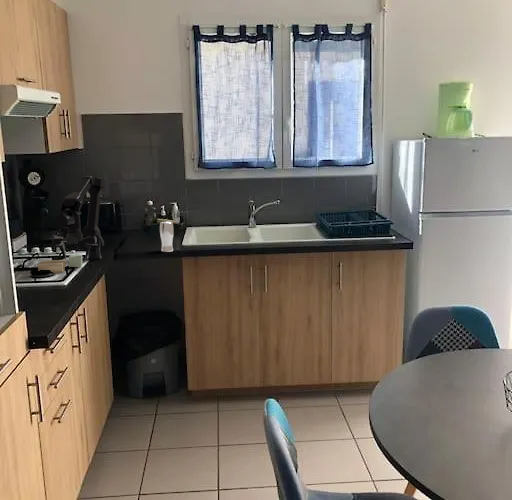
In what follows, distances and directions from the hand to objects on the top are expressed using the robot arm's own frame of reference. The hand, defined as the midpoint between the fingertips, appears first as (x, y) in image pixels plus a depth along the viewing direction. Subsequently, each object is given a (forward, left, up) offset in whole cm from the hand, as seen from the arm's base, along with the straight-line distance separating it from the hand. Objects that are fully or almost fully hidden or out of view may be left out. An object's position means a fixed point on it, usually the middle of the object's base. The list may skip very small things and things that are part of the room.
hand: (75, 259), depth 262 cm
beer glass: (-32, +41, -4) cm, 52 cm away
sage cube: (0, 0, -3) cm, 3 cm away
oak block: (+7, -9, -4) cm, 12 cm away
